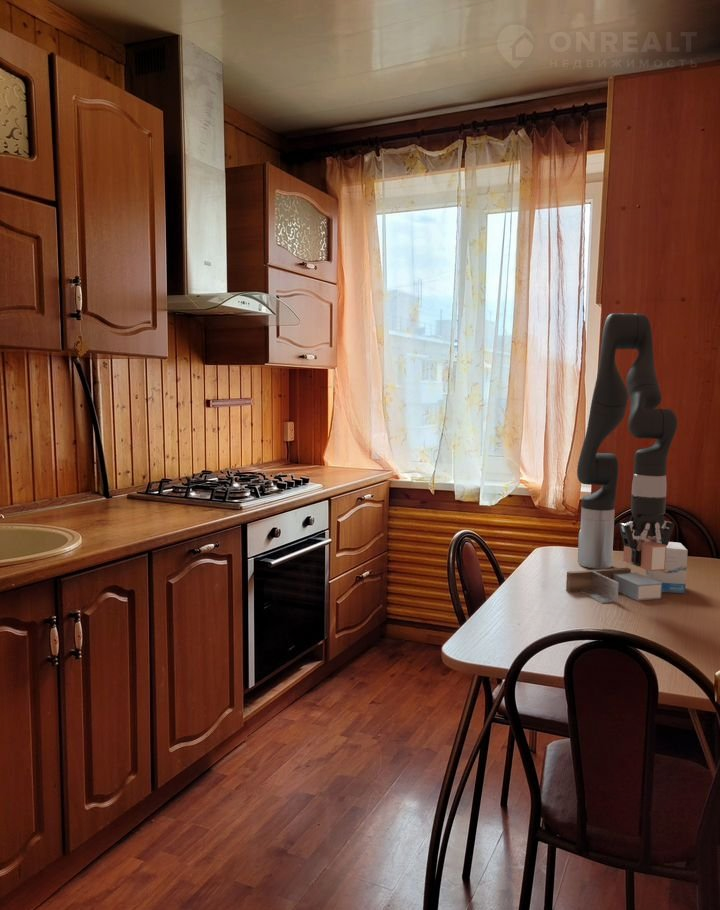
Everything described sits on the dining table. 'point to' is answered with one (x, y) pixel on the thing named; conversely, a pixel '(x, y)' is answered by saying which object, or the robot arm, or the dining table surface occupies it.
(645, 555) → the boxed book
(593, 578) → the bookend
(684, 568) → the ink box
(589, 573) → the shelf wall
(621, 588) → the flat book
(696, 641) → the dining table surface
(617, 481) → the robot arm
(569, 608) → the dining table surface
